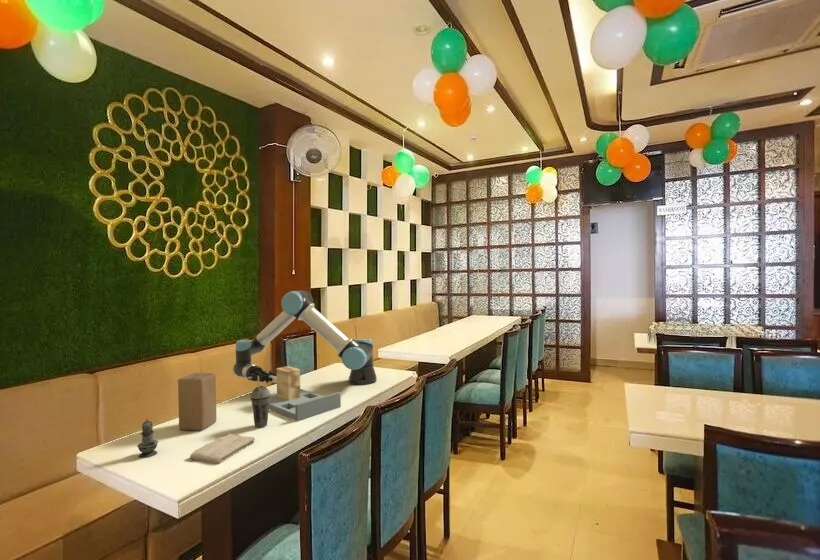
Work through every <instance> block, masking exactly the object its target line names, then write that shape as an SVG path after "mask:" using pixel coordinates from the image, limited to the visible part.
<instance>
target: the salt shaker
mask: <svg viewBox="0 0 820 560" xmlns="http://www.w3.org/2000/svg"><path fill="white" fill-rule="evenodd" d="M141 427H142V428H141V429H142V430H141V431H142V432H141V433H140V435H142V436H141V438H142V439H141V442H139V444H137V445H136V446H137V447H136V448H138V451H139V452H141V453H140V454H139V455H138V458H140V459H146V458H152V457H154V456H155V455H157V454H158V451H157V450H155V449H156V448H157V447H158V443H159V441H158V440H156V439H154V433H155V431H154V430H153V422H152V421H151V420H149V419H148V418H146V420H145V421H144V422H143V423H142V425H141Z"/></svg>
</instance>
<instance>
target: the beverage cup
mask: <svg viewBox="0 0 820 560" xmlns="http://www.w3.org/2000/svg"><path fill="white" fill-rule="evenodd" d="M257 378H258V381H257V385H258V386H256V387H255V388H254V389H253V390H252V392H251V394H250V400H251V405H252V413H253V423H254V427H255V428H256V427H257V429H262V428H261V427H263V428H265V426H266V427H267V426H268V421H269V400H270V396H271V393H270V390H269V389H268V387H266V386H264V385H260V381H259V376H257Z"/></svg>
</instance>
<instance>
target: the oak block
mask: <svg viewBox="0 0 820 560" xmlns="http://www.w3.org/2000/svg"><path fill="white" fill-rule="evenodd" d="M275 369H276V377H277V384H276V394H277V396H278V397H280V398H283V399H286V400H293V399H297V398H300V389H301V369H300V368H297V367H293V366H289V365H286V366H281V367H277V368H275Z"/></svg>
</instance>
